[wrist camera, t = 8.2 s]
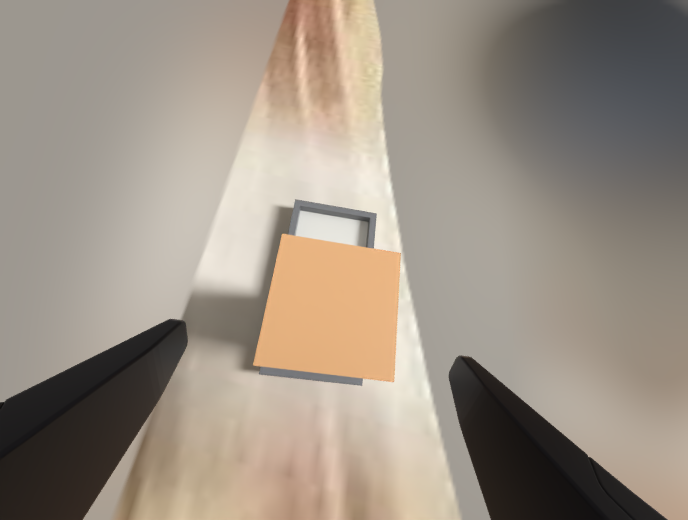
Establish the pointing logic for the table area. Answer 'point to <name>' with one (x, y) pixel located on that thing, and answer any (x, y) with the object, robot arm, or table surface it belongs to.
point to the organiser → (333, 228)
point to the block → (331, 310)
